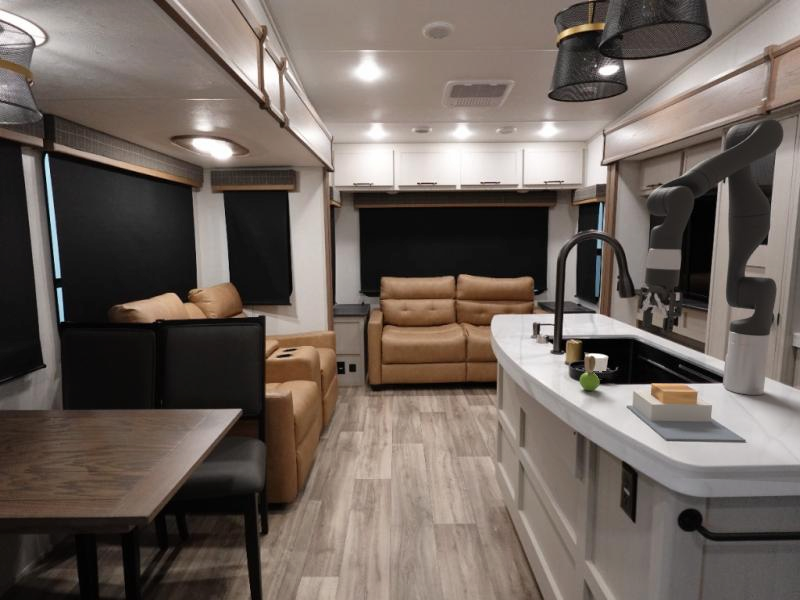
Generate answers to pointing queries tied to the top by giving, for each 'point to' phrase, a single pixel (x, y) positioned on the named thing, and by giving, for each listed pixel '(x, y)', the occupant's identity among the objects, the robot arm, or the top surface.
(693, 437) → the mat
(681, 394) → the orange flat block
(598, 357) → the white chunky block
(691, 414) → the white rectangular block
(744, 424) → the top surface
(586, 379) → the green maraca
